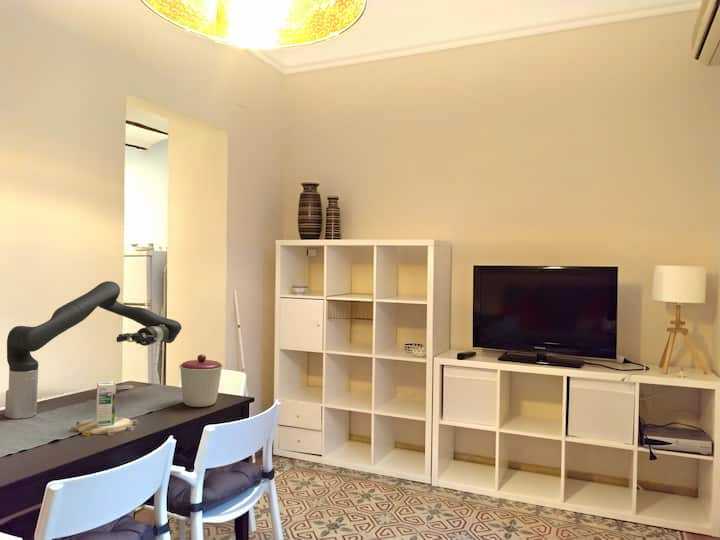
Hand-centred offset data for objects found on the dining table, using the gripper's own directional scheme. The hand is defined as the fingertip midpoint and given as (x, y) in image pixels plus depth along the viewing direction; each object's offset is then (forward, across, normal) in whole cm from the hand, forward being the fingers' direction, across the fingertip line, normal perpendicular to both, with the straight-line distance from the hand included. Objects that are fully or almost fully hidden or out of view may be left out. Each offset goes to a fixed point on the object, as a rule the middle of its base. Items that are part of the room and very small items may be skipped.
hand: (127, 340), depth 217 cm
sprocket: (+20, +6, +28) cm, 35 cm away
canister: (-20, +22, +28) cm, 41 cm away
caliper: (-27, -20, +28) cm, 44 cm away
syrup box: (+20, +6, +27) cm, 34 cm away
